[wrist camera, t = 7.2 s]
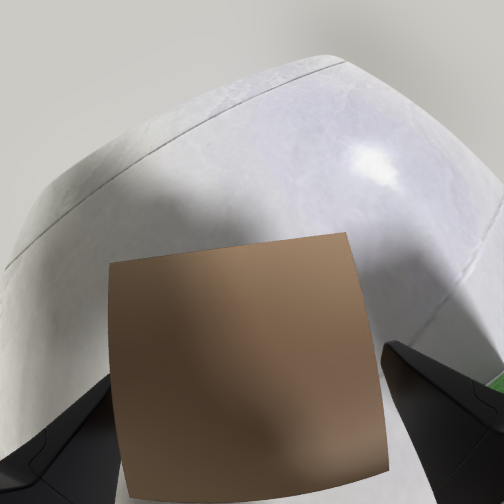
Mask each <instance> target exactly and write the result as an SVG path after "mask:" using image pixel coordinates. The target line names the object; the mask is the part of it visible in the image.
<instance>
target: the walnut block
mask: <svg viewBox="0 0 504 504" xmlns="http://www.w3.org/2000/svg"><path fill="white" fill-rule="evenodd" d="M108 342H109V364H110V379H111V391H112V401H113V410H114V418H115V425H116V432H117V438H118V444H119V450H120V455H121V461H122V466H123V470H124V475H125V480H126V484H127V488H128V492H129V496H130V498H137V499H145V500H154V501H165V502H180V503H233V502H248V501H259V500H268V499H276V498H283V497H290V496H296V495H301V494H307V493H312V492H317V491H321V490H326V489H330V488H334V487H338V486H342V485H345V484H349V483H353V482H356V481H359V480H363V479H366V478H369V477H372V476H375V475H378V474H381V473H384V472H386V471H389V459H388V446H387V436H386V426H385V417H384V409H383V402H382V395H381V388H380V381H379V375H378V369H377V363H376V357H375V352H374V347H373V341H372V336H371V331H370V326H369V322H368V317H367V312H366V308H365V304H364V299H363V295H362V291H361V287H360V283H359V279H358V275H357V271H356V267H355V263H354V260H353V256H352V252H351V249H350V245H349V242H348V238H347V235H346V232H344V233H335V234H327V235H319V236H311V237H303V238H296V239H288V240H280V241H272V242H264V243H257V244H249V245H241V246H234V247H226V248H218V249H211V250H203V251H196V252H188V253H181V254H173V255H166V256H159V257H151V258H144V259H137V260H130V261H122V262H115V263H110V268H109V291H108Z"/></svg>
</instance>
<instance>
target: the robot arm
mask: <svg viewBox="0 0 504 504" xmlns="http://www.w3.org/2000/svg"><path fill="white" fill-rule="evenodd" d="M381 367H382V370H383V373H384V376H385V379H386V381H387V384H388V387H389V390H390V393H391V396H392V399H393V401H394V404H395V406H396V408H397V410H398V412H399V414H400V417H401V419H402V421H403V423H404V425H405V427H406V430H407V432H408V434H409V436H410V439H411V441H412V443H413V445H414V448H415V450H416V452H417V455H418V457H419V459H420V462H421V464H422V466H423V469H424V471H425V474H426V476H427V478H428V481H429V483H430V486H431V488H432V491H433V494H434V497H435V499H436V502H437V504H504V393H502V392H499V391H497V390H494V389H492V388H490V387H488V386H485V385H483V384H481V383H479V382H477V381H475V380H472V379H471V378H469V377H467V376H465V375H463V374H461V373H459V372H457V371H455V370H453V369H451V368H449V367H447V366H445V365H443V364H441V363H439V362H437V361H435V360H434V359H432V358H430V357H428V356H426V355H424V354H422V353H420V352H418V351H416V350H414V349H412V348H410V347H408V346H406V345H404V344H402V343H400V342H398V341H396V340H393V341H389V342H386V343H385V344H384V346H383V351H382V356H381ZM120 464H121V455H120V450H119V444H118V438H117V432H116V425H115V418H114V410H113V401H112V391H111V379H110V373H109V374H108V375H107V376H105V377H104V378H103V379H102V380H101V381H99V382H98V383H97V384H96V385H95V386H94V387H92V388H91V389H90V390H89V391H88V392H87V393H85V394H84V395H83V396H82V397H81V398H80V399H78V400H77V401H76V402H75V403H74V404H72V405H71V406H70V407H69V408H68V409H67V410H65V411H64V412H63V413H62V414H61V415H60V416H58V417H57V418H56V419H55V420H54V421H52V422H51V423H50V424H49V425H48V426H47V427H46V428H44V429H43V430H42V431H41V432H39V433H38V434H37V435H36V436H35V437H33V438H32V439H31V440H30V441H28V442H27V443H25V444H24V445H23V446H21V447H20V448H18V449H17V450H16V451H14V452H13V453H11V454H10V455H8V456H7V457H5V458H4V459H2V460H1V461H0V504H115V497H116V489H117V483H118V476H119V470H120Z"/></svg>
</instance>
